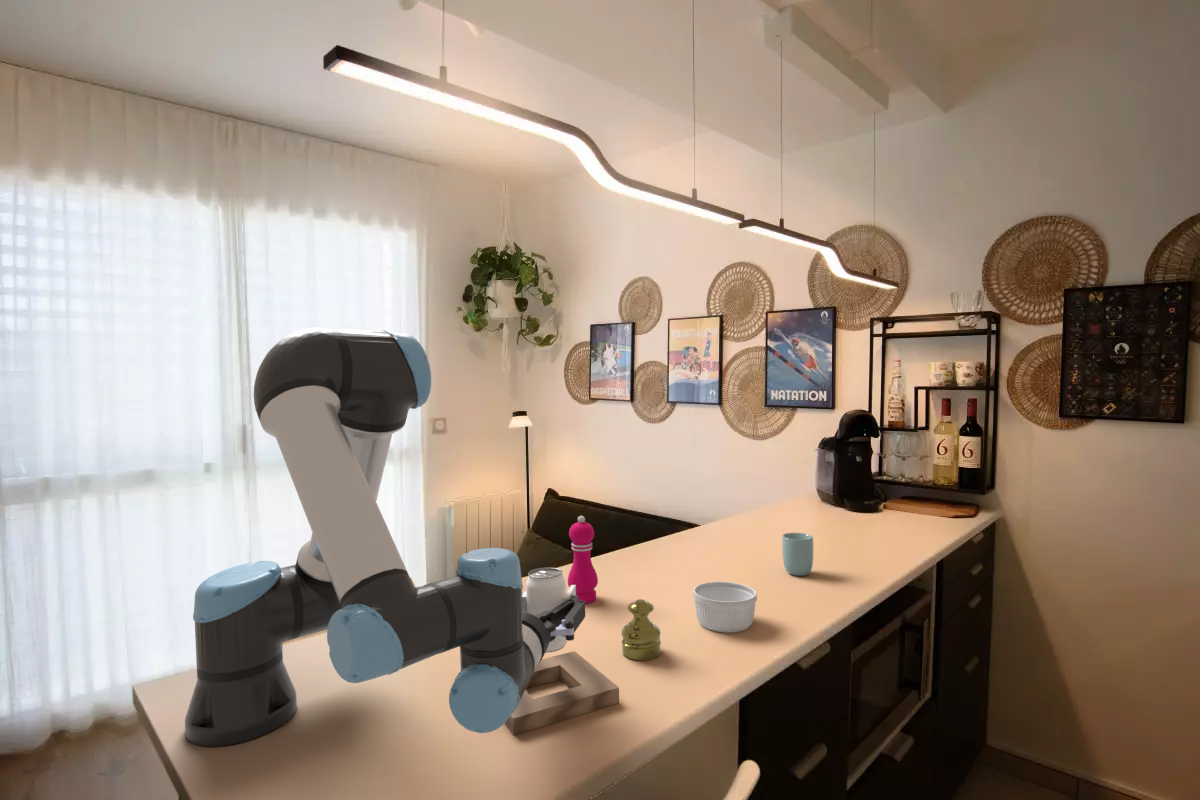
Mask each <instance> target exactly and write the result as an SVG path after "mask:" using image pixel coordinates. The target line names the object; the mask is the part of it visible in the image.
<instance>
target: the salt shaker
mask: <svg viewBox="0 0 1200 800" xmlns="http://www.w3.org/2000/svg"><path fill="white" fill-rule="evenodd" d="M626 609H627V611H629V612H630V613H631V614H632V615H633V618H632V619H631V621H629V622H628V623H627V624H625V625H624V626H623V627H622V629H621V636H622V638H623V639H621V640H622V641H621V653H622V655H624V656H625V657H626V658H628V659H631V660H634V661H648V660H649V661H650V660H653V659H655V658H657V657H659V656H660V654H661V652H662V650H661V643H662V642H661V640H660V638H661V632H662V631H661V629H660V627H659V626H658V625H657V624H654V623H653V621H651V620H650V618H649V615H650V614H651V612H653V611H654V609H655V608H654V605H653V603H651V602H649V601H646V600H645V599H640V598H639V599H636V600H634V601H632V602H630V603H629V604H628V605H627V608H626Z"/></svg>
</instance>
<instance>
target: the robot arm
mask: <svg viewBox="0 0 1200 800" xmlns="http://www.w3.org/2000/svg"><path fill="white" fill-rule="evenodd" d="M431 389H432V372H431V366H430V362H429V359H428V356H427V353H426V350H425V349H424V348H423V346H422V344H421V343H420V342H419V340H417V339H416V338H415V337H414V336H412V335H410V334H409V333H405V332H403V333H402V332H396V331H395V332H394V331H390V330H385V329H383V330H362V329H361V330H360V329H340V328H339V329H335V328H327V327H325V328H324V327H311V328H305V329H300V330H297V331H295V332H292V333H291V334H288V335H286V336H285V337H283V338H282V339H280V340H279V341H278V342H277V343H276V344H274V346H273V347H272V348H270V350H269V351H268V352H267V353H266V354H265V356H264V358H263V360H262V361H261V363H260V364H259V367H258V369H257V372H256V375H255V380H254V384H253V402H254V403H253V404H254V408H255V412H256V416H257V417H258V421H259V422H260V426H261V428H262V429H263V430H264V433H266V434H268V435H269V436H272V437H274V438H275V439H276V441H277V442H276V443H277V445H278V447H279V450H280V452H281V454H282V457H283V460H284V463H285V465H286V468H287V470H288V472H289V476H290V478H291V480H292V483H293V486H294V488H295V491H296V493H297V496H298V498H299V501H300V503H301V506H302V509H303V511H304V512H303V513H304V514H305V517H306V519H307V522H308V524H309V526H310V530H311V532H312V533H311V537H310V540H308V541H307V542H306V543H304V544H303V545H302V546H301V547H300V548H299V551H298V553H297V558H296V562H295V564H294V565H290V566H283V567H281V566H280V565H279V563H277V562H275V561H271V560H270V561H269V560H263V561H262V560H260V561H256V562H247V563H242V564H239V565H235V566H232V567H230V568H226V569H224V570H221V571H218V572H217V573H215V574H213V575H210V576H208V577H207V578H206V579H205V580H203V581H202V582H201V583H200V584H199V585H198V586H197V589H196V590H195V593H194V602H193V603H194V606H193V607H194V608H193V615H192V619H193V621H194V633H195V634H194V637H195V638H194V639H195V655H196V656H195V657H196V658H195V659H196V683H195V687H194V690H193V693H192V696H191V698H190V702H189V705H188V709H187V711H186V715H185V718H184V719H185V720H184V729H185V731H184V732H185V733H184V735H185V738H186V740H187V741H188V742H190V743H192V744H193V745H198V746H201V747H202V746H204V747H221V746H223V747H224V746H229V745H234V744H239V743H240V744H241V743H242V742H247V741H250V740H253V739H256V738H259V737H262V736H264V735H267V734H269V733H271V732H273V731H274V730H276V729H278V728H279V727H281V726H283V725H284V724H285V723H287V722H288V721H289V720H290V719H291V718H292V717H293V716H294V714H295V713H296V711H297V707H298V706H297V705H298V703H297V700H298V699H297V691H296V689H295V686H294V684H293V682H292V680H291V677H290V675H289V672H288V670H287V667H286V665H285V663H284V658H283V657H284V655H283V654H284V653H283V643H285V642H287V641H288V642H289V641H292V640H295V639H299V638H301V637H302V638H303V637H305V636H308V635H312V634H315V633H320V632H323V631H326V630H327V631H326V641H327V644H328V647H329V651H328V652H329V657H330V661H331V663H332V666H333V668H334V670H335V671H336V673H337V675H338V676H339V677H340V678H342V680H344V681H345V682H347V683H352V684H359V683H362V682H363V683H364V682H367V681H371V680H375V679H377V678H380V677H383V676H386V675H388V676H389V675H392V674H394V673H397V672H398V671H400V670H402V669H404V668H407V667H410V666H412V665H415V664H417V663H420V662H422V661H424V660H426V659H429V658H432V657H434V656H436V655H439V654H443V653H445V652H448V651H451V650H454V649H457V648H459V659H460V661H459V663H460V671H459V672H458V674H457V675H456V676H455V678H454V682H453V683H452V685H451V687H450V690H449V694H448V695H449V696H448V704H449V709H450V712H451V714H452V716H453V718H454V719H455V720H456V721H457V723H458V724H459V725H460V726H462V728H464V729H465V730H468V731H470V732H473V733H478V734H488V733H491V732H494V731H497V730H498V729H499V728H501V727H502V726H503V725H504V724H505V722H506V721H507V719H508V718H509V716H510V715H511V714H512V713H513V712H514V711H515V710H516V708H517V706H518V704H519V701H520V699H521V697H522V695H523V693H524V691H525V690H526V689H527V688H526V687H527V685H528V683H529V681H530V679H531V677H532V676H533V674H534V672H535V670H536V668H537V667H538V665H539V663H540V662H541V660H542V659H544V656H545V655H546V651H547V648H548V645H549V642H551V641H553V640H554V639H555V638H556V636H562V637H566V640H567V642H569V641H571V642H572V641H574V640H575V633H576V631H577V629H578V628H579V627H580V625H581V624H582V622H583V621H584V620H585V618H586V603H585V601H583V600H580V601H578V595H576V585H571V586H570V587H569V588H568V590H566V595H565V596H564V602H563V603H562V604H560V605H558V606H557V607H555V608H554V609H552V610H550V611H546V610H545V611H543V612H542V613H540V614H539V615H532V614H530V613H527V604H526V590H525V591H524V592H523V589H524V586H523V579H522V569H521V564H520V563H521V562H520V558H519V556H518V555H517V554H516V553H515V552H514V551H512V550H510V549H506V548H499V547H486V548H478V549H473V550H469V551H467V552H465V553H463V554H461V555H460V556H459V557H458V559H457V562H456V563H457V564H456V570H455V576H453V577H449V578H446V579H442V580H439V581H435V582H432V583H427V584H424V585H422V586H421V585H420V586H415V585H414V583H413V579H412V578H411V576H410V575H409V573H408V570H407V568H406V565H405V563H404V561H403V559H402V557H401V555H400V552H399V550H398V548H397V545H396V543H395V541H394V538H393V537H392V534H391V532H390V530H389V528H388V525H387V523H386V520H385V518H384V517H383V514H382V512H381V510H380V507H379V505H378V503H377V500H378V496H379V491H380V487H381V483H382V480H383V474H384V471H385V470H384V469H385V465H386V462H387V458H388V453H389V448H390V445H391V443H392V442H391V441H392V437H393V434H394V433H396V432H398V431H401V430H402V429H403V428H404V427H405V426H406V422H407V418H408V413H409V411H410V409H412V410H414V409H418V408H420V407H422V406H423V405H425V404H426V402H427V401H428V399H429V397H430V394H431V391H432V390H431Z"/></svg>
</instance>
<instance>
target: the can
mask: <svg viewBox="0 0 1200 800" xmlns="http://www.w3.org/2000/svg"><path fill="white" fill-rule="evenodd" d="M527 575H528V577H527V579H526V581H525V582H526V583H525V591H526V604H527V612H526V613H530V614H532V615H539V614H540V613H542V612H543V611H545V610H546V611H550V610H552V609H554V608H555V607H557V606H558V605H560V604H562V603H563V602H564V596H565V595H566V593H567V587H566V585H567V584H566V579H565V577H564V575H563V570H562V569H560V568H558V567H557V568H556V567H541V568H540V567H539V568H535V569H531V570H529V572H528V573H527ZM567 643H568V640H566V637H562V636H556V638H555V639H554V640H553V641H551V642H549V645H548V648H547V651H546V653H554V652H557V651H560V650H562V649H564V647H566V645H567ZM546 653H545V654H546Z"/></svg>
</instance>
